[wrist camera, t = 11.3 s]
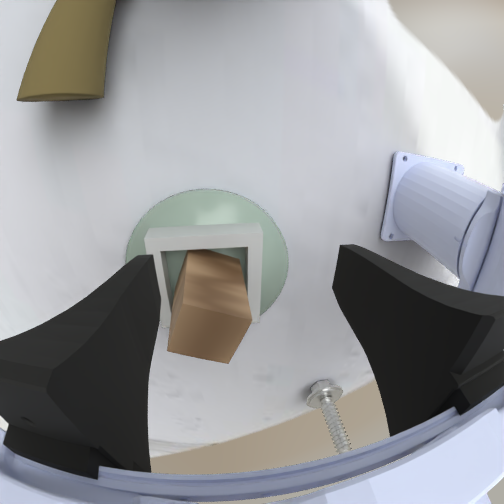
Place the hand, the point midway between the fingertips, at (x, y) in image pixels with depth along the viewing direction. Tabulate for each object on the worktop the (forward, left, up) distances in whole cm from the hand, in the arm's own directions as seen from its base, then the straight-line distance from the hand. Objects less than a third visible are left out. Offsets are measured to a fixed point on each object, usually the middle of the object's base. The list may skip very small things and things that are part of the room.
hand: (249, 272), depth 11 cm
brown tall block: (+2, +6, -10) cm, 12 cm away
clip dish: (+2, +6, -10) cm, 12 cm away
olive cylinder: (+11, -8, -7) cm, 15 cm away
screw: (-11, +25, -11) cm, 29 cm away
